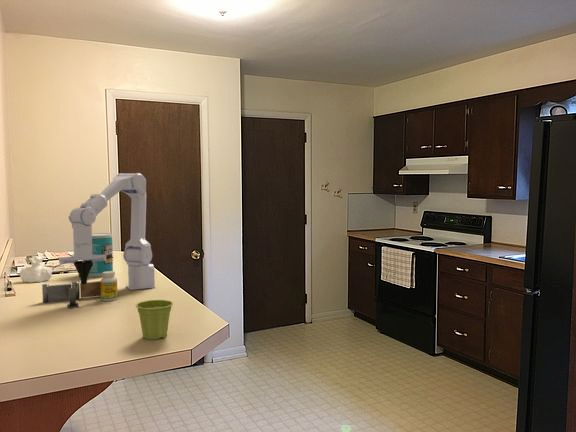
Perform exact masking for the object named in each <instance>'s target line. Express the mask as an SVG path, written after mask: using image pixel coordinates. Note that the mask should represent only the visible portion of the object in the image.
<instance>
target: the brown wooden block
mask: <svg viewBox="0 0 576 432" xmlns="http://www.w3.org/2000/svg"><path fill="white" fill-rule="evenodd" d="M79 284H80V299H83V298H84V299H85V298H94V297H101V280H98V281H87V284H81V282H79Z"/></svg>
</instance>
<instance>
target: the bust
mask: <svg viewBox="0 0 576 432" xmlns="http://www.w3.org/2000/svg"><path fill="white" fill-rule="evenodd" d="M43 260H45V257H41V256H39V255H36V256H35V255H34V256H33V257H31V258H28V261H29V262H30V264H31V266H29V267H28V266H27V267H25V268H22V269H21V270H20V271H19V277H20V280H21V281H22V282H23V283H24V282H25V283H31V284H32V283H42V282H47V281H49V280H51V278H52V275H53V269H52V268H51V267H49V266H45V265H43V266H42V265H41V264H43Z"/></svg>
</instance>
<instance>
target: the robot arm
mask: <svg viewBox="0 0 576 432" xmlns="http://www.w3.org/2000/svg"><path fill="white" fill-rule="evenodd" d="M112 179H113V180H112V181H111V182H110V183H109V184H108V185H107V187H105V189H104V190H102V191H101V192H100V193H95V194H94V193H93V194H90V196H89V198H88V199H87V200H86V201H85V202H82V203H81V204H80V206H79V207H75V208H73V209H72V210H71V211H70V213H69V216H68V220H69V222H70V224H71V229H72V231H73V232H72V235H73V237H72V238H73V241H72V242H73V255H72V256H65V257H58V263H59V265H65V264H73V266H74V267H75V269H76V271H77V273H78V277H79V279H80V280H79V281H80V283H81V284H87V282H88V278H89V277H88V275H89V272H90V270H91V268H92V266H93V263H92V261H106V255H92V233H93V224H94V223H95V222H96V218H97V216H98V215H99V214H100V213H101V212H102V211H103V210H105V208H106V207H107V206H108V201H109V200H111V199H112V198H113V197H115V196H116V195H117V194H119V193H120V192H122V193H124V194H126V195H127V196H129V198H131V199H130V200H131V201H130V202H131V204H130V205H131V207H130V209H131V210H130V213H131V214H130V239H129V240H128V241H127V242H126V243H125V245H124V246H125V248H124V251H123V256H122V258H123V260H124V262H125V263H126V265H127V266H128V267H127V268H128V270H127V271H128V284H126V285H125V286H126V288H127V289H128V290H131V291H133V290H142V289H151V288H156V285H155V283H156V282H155V266H154V264H153V263H151V261H152V259H153V251H152V245H151V243H150V242H149V241H148V240H146V230H147V228H146V225H147V220H146V219H147V218H146V217H147V179H146V177H145V176H144V175H143V174H142V173H140V172H136V173H122V172H120V173H118V174H117V175H116V176H114V177H113V178H112ZM89 259H90V260H89Z"/></svg>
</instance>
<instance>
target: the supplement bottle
mask: <svg viewBox="0 0 576 432" xmlns="http://www.w3.org/2000/svg"><path fill="white" fill-rule="evenodd" d="M102 276H103V277H101V278H100V281H101V296H100V299H101V301H104V302H113V301H116V300H117V299H118V297H119V296H118V278H117V277H115V276H116V272H115V271H114V270H113V271H106V272H103V273H102Z"/></svg>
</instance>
